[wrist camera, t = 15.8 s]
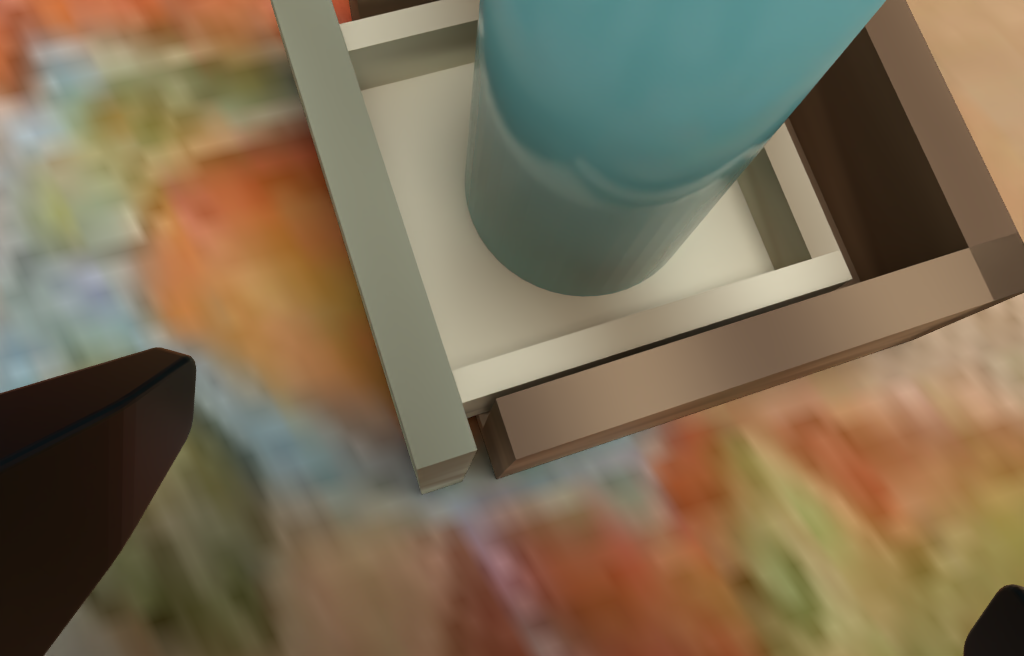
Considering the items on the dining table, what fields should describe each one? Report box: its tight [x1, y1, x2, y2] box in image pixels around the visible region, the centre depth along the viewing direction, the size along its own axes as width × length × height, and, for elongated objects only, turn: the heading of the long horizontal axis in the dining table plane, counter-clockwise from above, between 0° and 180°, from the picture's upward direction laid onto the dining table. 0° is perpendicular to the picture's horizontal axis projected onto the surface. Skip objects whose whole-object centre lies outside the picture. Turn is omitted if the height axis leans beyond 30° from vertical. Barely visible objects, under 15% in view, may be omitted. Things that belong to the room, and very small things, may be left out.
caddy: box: [349, 0, 1024, 479], centre depth 21 cm, size 12×12×5 cm
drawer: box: [271, 0, 852, 495], centre depth 19 cm, size 10×12×7 cm
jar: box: [465, 0, 886, 297], centre depth 14 cm, size 6×6×14 cm
